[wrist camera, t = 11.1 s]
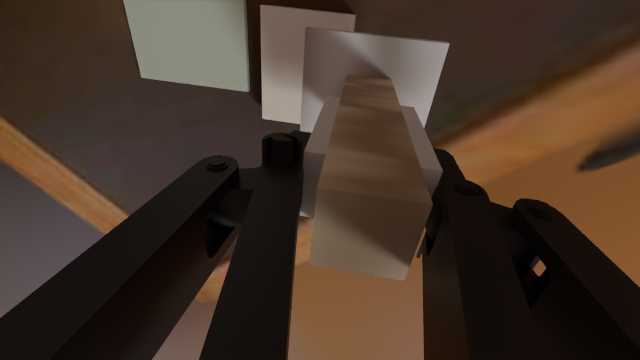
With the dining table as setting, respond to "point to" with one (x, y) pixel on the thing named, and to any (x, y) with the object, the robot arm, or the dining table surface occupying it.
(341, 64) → the wooden handled stamp
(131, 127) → the dining table surface
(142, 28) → the mat
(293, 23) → the tile
